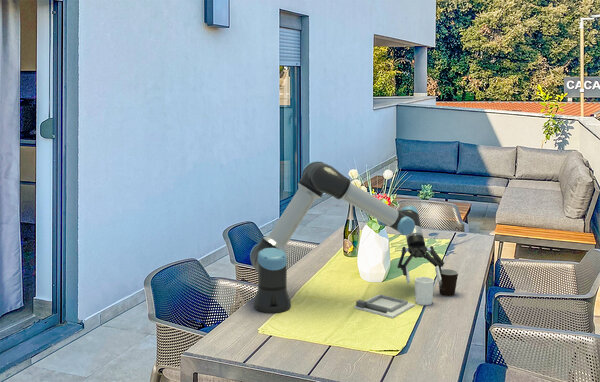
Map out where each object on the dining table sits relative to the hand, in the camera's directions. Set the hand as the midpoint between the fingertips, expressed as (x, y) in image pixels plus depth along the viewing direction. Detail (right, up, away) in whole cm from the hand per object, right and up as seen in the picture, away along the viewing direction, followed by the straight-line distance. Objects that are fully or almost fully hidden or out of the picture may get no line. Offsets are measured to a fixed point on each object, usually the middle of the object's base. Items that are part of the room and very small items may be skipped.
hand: (424, 281), depth 265 cm
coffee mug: (+12, -7, +11) cm, 18 cm away
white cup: (-1, -9, -2) cm, 9 cm away
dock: (-17, -9, -6) cm, 21 cm away
